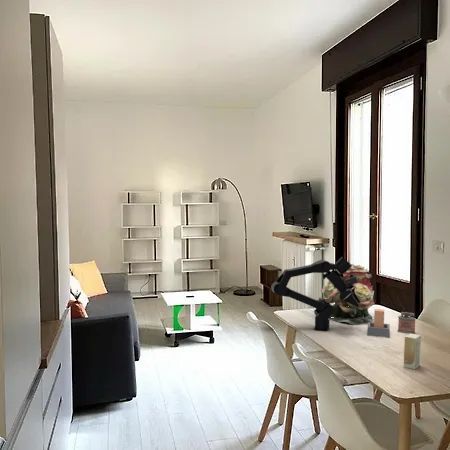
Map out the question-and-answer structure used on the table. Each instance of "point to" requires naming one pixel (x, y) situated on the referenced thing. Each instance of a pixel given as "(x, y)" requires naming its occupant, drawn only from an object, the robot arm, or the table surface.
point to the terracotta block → (379, 318)
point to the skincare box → (412, 351)
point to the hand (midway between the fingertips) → (359, 304)
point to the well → (378, 330)
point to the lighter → (406, 323)
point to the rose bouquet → (341, 307)
